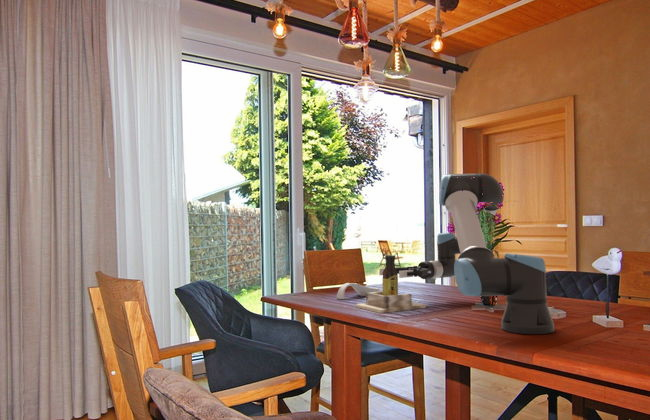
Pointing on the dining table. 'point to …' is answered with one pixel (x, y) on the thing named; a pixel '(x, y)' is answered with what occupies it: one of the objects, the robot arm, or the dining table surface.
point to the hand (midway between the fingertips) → (389, 273)
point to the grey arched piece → (358, 288)
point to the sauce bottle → (390, 277)
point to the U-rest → (389, 302)
